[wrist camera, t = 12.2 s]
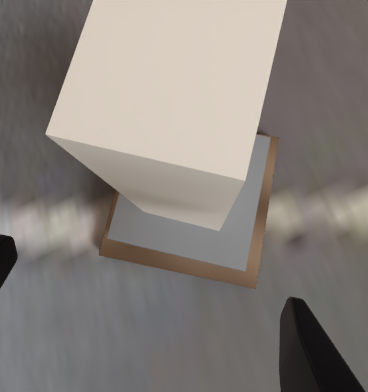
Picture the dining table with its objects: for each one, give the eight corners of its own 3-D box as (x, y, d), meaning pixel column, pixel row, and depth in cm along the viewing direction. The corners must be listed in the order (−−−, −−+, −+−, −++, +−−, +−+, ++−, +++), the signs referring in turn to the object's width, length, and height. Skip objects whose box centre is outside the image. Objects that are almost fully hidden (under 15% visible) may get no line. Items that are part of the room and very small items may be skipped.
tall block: (219, 231, 20) (245, 181, 7) (144, 211, 20) (45, 134, 8) (237, 157, 21) (287, -3, 8) (164, 141, 21) (105, -33, 9)
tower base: (251, 287, 23) (255, 288, 21) (106, 256, 24) (98, 255, 22) (272, 147, 25) (278, 137, 23) (140, 125, 26) (135, 113, 24)
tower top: (241, 271, 21) (245, 271, 19) (114, 240, 22) (106, 238, 20) (264, 148, 23) (270, 137, 21) (147, 125, 24) (142, 112, 22)
